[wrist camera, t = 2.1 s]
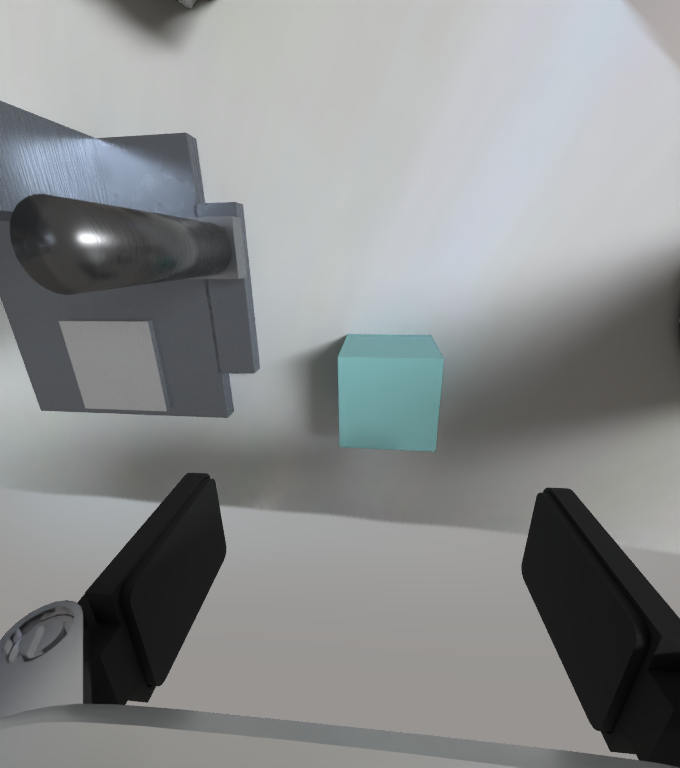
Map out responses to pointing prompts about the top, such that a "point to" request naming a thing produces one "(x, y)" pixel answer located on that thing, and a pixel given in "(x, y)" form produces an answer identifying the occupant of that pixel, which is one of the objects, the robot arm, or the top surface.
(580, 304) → the top surface
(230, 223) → the lever
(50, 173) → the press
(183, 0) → the egg carton
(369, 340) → the teal cube block
